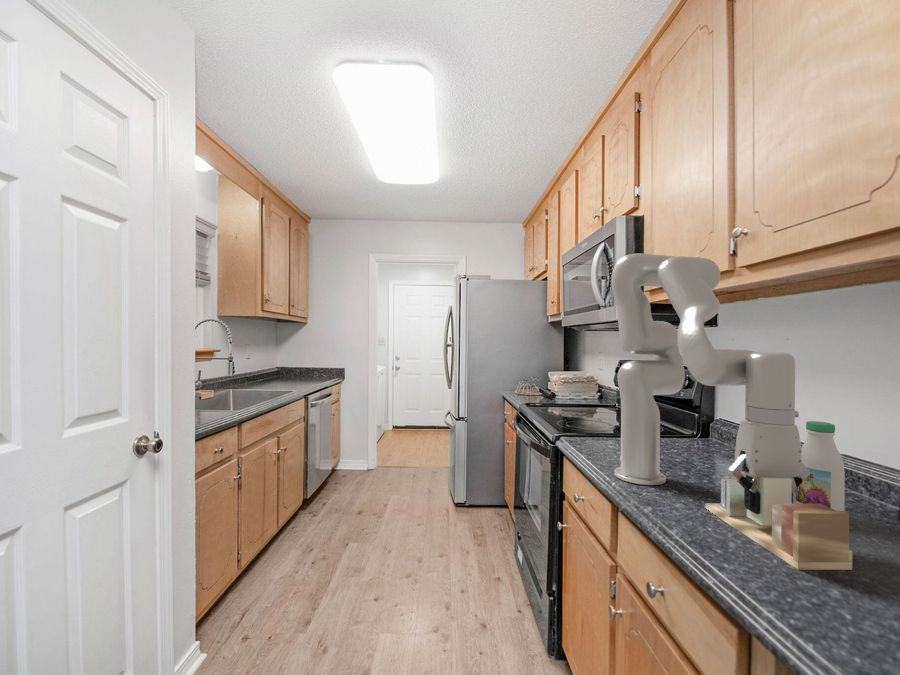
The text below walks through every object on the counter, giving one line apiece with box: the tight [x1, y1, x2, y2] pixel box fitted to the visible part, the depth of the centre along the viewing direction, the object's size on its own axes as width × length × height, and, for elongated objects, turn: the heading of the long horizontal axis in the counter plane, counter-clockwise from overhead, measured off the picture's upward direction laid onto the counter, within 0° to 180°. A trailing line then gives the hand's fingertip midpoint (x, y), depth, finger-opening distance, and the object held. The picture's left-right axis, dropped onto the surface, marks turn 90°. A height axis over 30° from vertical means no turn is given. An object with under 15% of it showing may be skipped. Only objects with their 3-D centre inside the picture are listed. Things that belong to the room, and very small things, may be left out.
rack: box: [704, 502, 853, 571], centre depth 80 cm, size 24×9×9 cm, turn 1°
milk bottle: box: [795, 420, 846, 511], centre depth 88 cm, size 8×8×20 cm
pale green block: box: [747, 477, 792, 526], centre depth 79 cm, size 4×6×9 cm
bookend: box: [716, 478, 747, 517], centre depth 87 cm, size 5×7×7 cm
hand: (768, 510), depth 79 cm, fingers closed on pale green block, 5 cm apart
